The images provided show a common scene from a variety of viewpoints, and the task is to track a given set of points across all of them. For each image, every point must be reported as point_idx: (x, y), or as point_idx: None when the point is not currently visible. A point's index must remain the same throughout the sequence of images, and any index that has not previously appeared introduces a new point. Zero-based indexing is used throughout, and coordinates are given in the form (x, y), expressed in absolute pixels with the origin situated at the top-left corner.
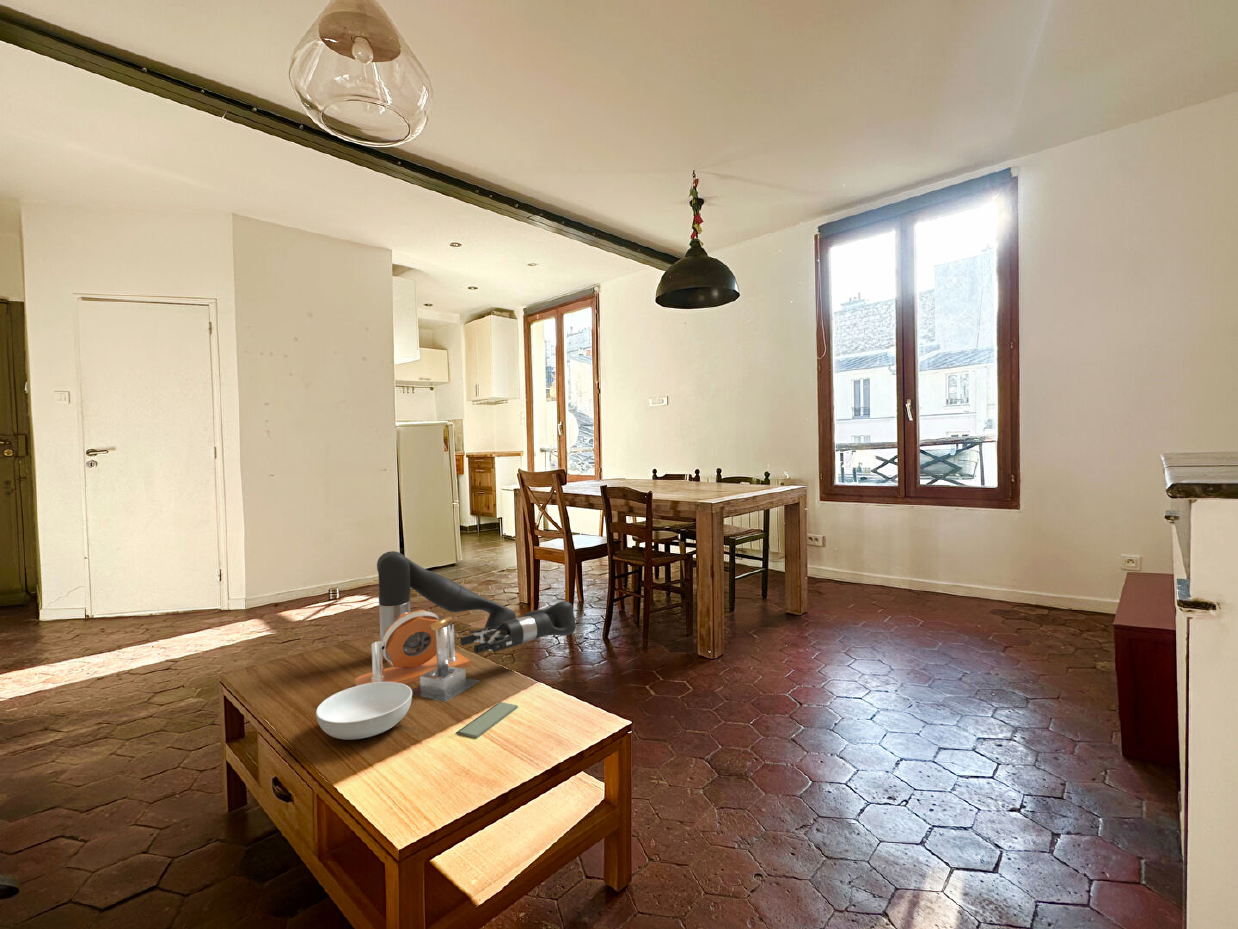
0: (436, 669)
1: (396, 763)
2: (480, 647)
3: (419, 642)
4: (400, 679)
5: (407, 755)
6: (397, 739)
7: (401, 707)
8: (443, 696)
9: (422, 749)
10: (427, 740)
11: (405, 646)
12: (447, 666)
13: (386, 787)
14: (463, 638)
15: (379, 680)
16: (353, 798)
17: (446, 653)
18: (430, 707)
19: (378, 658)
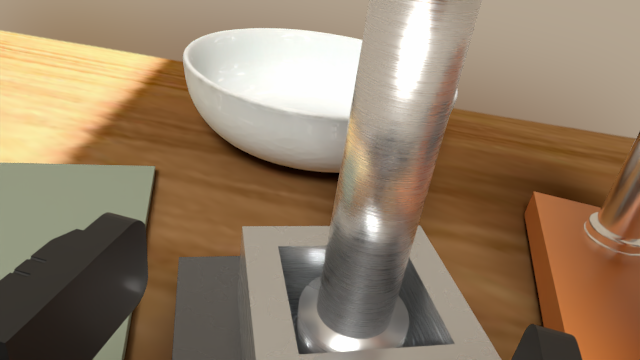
0: (445, 305)
1: (91, 89)
2: (46, 252)
3: None
4: (569, 282)
5: (86, 104)
6: (174, 129)
7: (183, 63)
8: (237, 286)
9: (60, 118)
10: (75, 139)
11: None
12: (329, 257)
13: (53, 60)
14: (537, 347)
15: (585, 225)
16: (97, 48)
17: (341, 163)
18: (239, 247)
19: (637, 137)
